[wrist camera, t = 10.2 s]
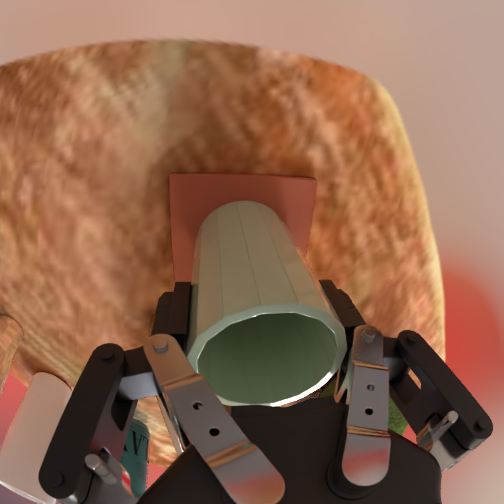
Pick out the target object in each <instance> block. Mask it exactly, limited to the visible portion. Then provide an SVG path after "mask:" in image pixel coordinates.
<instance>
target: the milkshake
mask: <svg viewBox="0 0 504 504" xmlns="http://www.w3.org/2000/svg"><path fill="white" fill-rule="evenodd" d="M23 334H24V333H23V331H22V329H21V327H20V325H19V324H18V323H17V322H16V321H15V320H14V319H12V318H10V317H8V316H6V315H5V316H1V317H0V398H1V395H2V391H3V388H4V385H5V382H6V378H7V375H8V373H9V370H10V368H11V365H12V363H13V360H14V358H15V355H16V353H17V351H18V348H19V346H20V344H21V341H22V339H23Z"/></svg>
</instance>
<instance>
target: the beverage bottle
mask: <svg viewBox="0 0 504 504" xmlns="http://www.w3.org/2000/svg"><path fill="white" fill-rule="evenodd" d="M149 438H151V437H149V430H148V428H147V426H146V425H144V424H143V423H142V422H140V421H138V420H136V419H133V418H132V421H131V424H130V428H129V431H128V434H127V438H126V441H125V445H124V448H123V452H122V455H121V459H120V462H119V463H120V464H121V465H122V466H123V467H124V468H125V469H126V471H127V472H128V474H129V476H130V480H131V482H130V488H131V492H132V494H133V495H134V496H135V497H137V498H140V497H141V496H142V494H143V493H144V492H145V491H146V474H147V458H148V446H150V445H149V440H150V439H149ZM149 450H150V448H149ZM148 463H149V462H148Z"/></svg>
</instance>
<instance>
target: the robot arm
mask: <svg viewBox="0 0 504 504" xmlns="http://www.w3.org/2000/svg"><path fill="white" fill-rule="evenodd" d="M318 281H319V283H320V285H321V286H322V288H323V290H324V292H325V294H326V295H327V297H328V299H329V301H330V303H331V304H332V306H333V308H334V310H335V312H336V314H337V316H338V317H339V319H340V321H341V323H342V325H343V327H344V329H345V334H346V341H347V351H346V354H345V356H344V359H343V361H342V364H341V366H340V368H339V370H338V375H337V381H336V387H335V392H334V396H333V395H332V396H326V397H320V398H313V399H308V400H306V401H303V402H300V403H298V404H295V405H292V406H289V407H285V408H284V407H274V406H266V405H258V404H257V405H240V406H231V413H228V411H227V410H226V408H225V407H224V406H223V404H222V403H221V401H220V400H219V398H218V397H217V395H216V394H215V393H214V391H213V390H212V388H211V387H210V385H209V384H208V382H207V381H206V379H205V378H204V376H203V375H202V374H201V373H196V372H195V370H194V369H193V367H192V366H191V364H190V362H189V361H188V359H187V357H186V346H187V335H188V320H189V307H190V295H191V282H175V287H174V292H164V293H163V294H162V296H161V297H160V298H159V300H158V305H157V309H156V314H155V319H154V324H153V328H152V333H151V336H150V337H149V338H148V339H147V340H146V341H145V342H144V345H143V346H141V347H139V348H136V349H132V350H127V351H123V349H122V348H121V347H120V346H119V345H117V344H113V343H107V344H103V345H100V346H99V347H97V348H96V349H95V350H94V351H93V353H92V355H91V357H90V358H89V360H88V362H87V364H86V366H85V368H84V370H83V372H82V374H81V376H80V378H79V380H78V382H77V384H76V386H75V388H74V390H73V392H72V394H71V396H70V399H69V401H68V403H67V405H66V407H65V409H64V412H63V414H62V416H61V418H60V420H59V423H58V425H57V427H56V430H55V432H54V434H53V437H52V439H51V442H50V444H49V447H48V449H47V452H46V454H45V457H44V459H43V462H42V465H41V467H40V470H39V474H38V479H39V483H40V486H41V488H42V489H43V490H44V492H45V493H47V494H48V495H49V496H51V497H53V498H54V499H56V500H58V501H59V502H60V503H62V504H442V502H441V495H440V494H441V493H440V490H441V477H442V475H441V472H442V471H443V470H445V469H450V468H451V467H453V466H454V465H455V464H457V463H458V462H459V461H461V460H462V459H463V458H464V457H465V456H467V455H468V454H469V453H471V452H472V451H473V450H474V449H475V448H476V447H478V446H479V445H480V444H481V443H482V442H484V441H485V440H486V439H487V438H488V437H489V436H490V435H491V433H492V431H493V424H492V421H491V419H490V417H489V416H488V415H487V413H486V412H485V411H484V410H483V408H482V407H481V406H480V405H479V403H478V402H477V401H476V400H475V398H474V397H473V396H472V395H471V393H470V392H469V391H468V390H467V388H466V387H465V386H464V385H463V384H462V383H461V381H460V380H459V379H458V378H457V377H456V375H455V374H454V373H453V372H452V371H451V369H450V368H449V367H448V366H447V365H446V364H445V363H444V361H443V360H442V359H441V358H440V357H439V356H438V355H437V353H436V352H435V351H434V350H433V349H432V348H431V347H430V346H429V344H428V343H427V342H426V341H425V340H424V339H423V338H422V337H421V336H420V335H419V334H418V333H416V332H414V331H411V330H404V331H402V332H400V333H399V335H398V337H397V338H390V337H383V336H382V334H381V332H380V331H379V330H378V329H376V328H375V327H373V326H370V325H366V323H365V321H364V320H363V318H362V316H361V315H360V313H359V312H358V310H357V308H355V305H354V304H353V303H352V300H351V299H350V297H349V296H348V295H347V294H346V293H345V292H344V291H342V290H341V289H337V288H336V287H335V285H334V283H333V282H332V281H331V280H318ZM410 369H411V370H412V371H413V372H414V374H415V375H416V376H417V377H418V379H419V380H420V382H421V389H419V387H418V386H417V385H416V383H415V382H414V381H413V380H412V378H411V377H410V376H409V374H408V373H409V371H410ZM154 395H158V397H159V399H160V401H161V404H162V406H163V408H164V410H165V412H166V414H167V415H168V417H169V419H170V421H171V423H172V425H173V428H174V430H175V432H176V434H177V436H178V438H179V440H180V442H181V444H182V446H183V447H184V449H185V450H184V451H183V452H182V453H181V454H180V455H179V456H178V458H177V459H176V460H175V461H174V462H173V463H172V464H171V465H170V466H169V467H168V468H167V470H166V471H165V472H164V473H163V474H162V475H161V476H160V477H159V478H158V479H157V480H156V481H155V483H153V484H152V485H151V486H150V487H149V488H148V489H147V490H146V491H145V492H144V493H143V494H142V496H141V497H140V498H137V497H135V496H134V495H133V494H132V492H131V488H130V482H131V480H130V476H129V474H128V472H127V471H126V469H125V468H124V467H123V466H122V465H121V464H120V463H119V462H120V459H121V455H122V452H123V448H124V445H125V441H126V438H127V434H128V431H129V428H130V424H131V421H132V418H133V415H134V412H135V408H136V405H137V402H138V399H140V398H145V397H149V396H154ZM389 396H390V397H391V399H392V400H393V402H394V403H395V404H396V406H397V407H398V409H399V410H400V412H401V413H402V415H403V416H404V418H405V419H406V421H407V422H408V424H409V425H410V427H411V428H412V430H413V431H414V433H415V434H416V436H417V437H416V441H417V444H415V443H413V442H411V441H410V440H408V439H406V438H405V437H403V436H401V435H400V434H398V433H396V432H395V431H393V430H391V429H390V428H388V415H389Z"/></svg>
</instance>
